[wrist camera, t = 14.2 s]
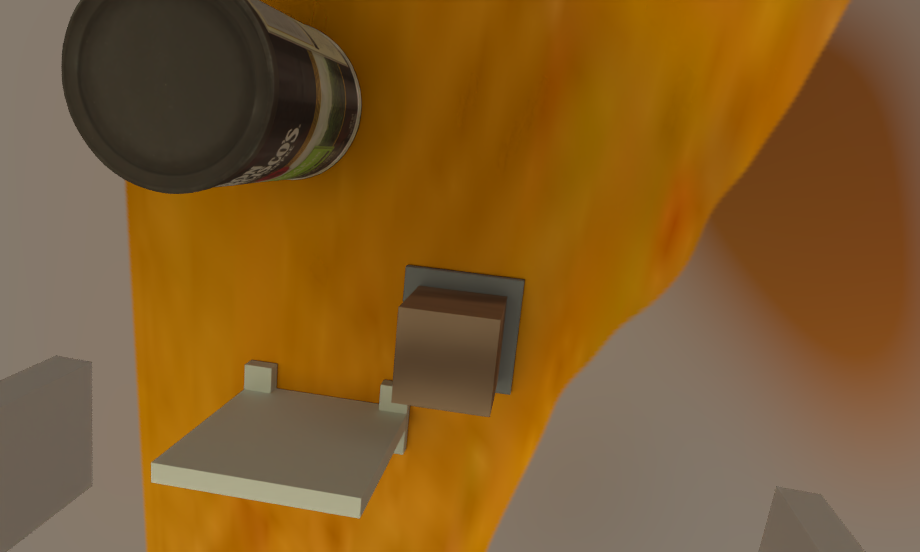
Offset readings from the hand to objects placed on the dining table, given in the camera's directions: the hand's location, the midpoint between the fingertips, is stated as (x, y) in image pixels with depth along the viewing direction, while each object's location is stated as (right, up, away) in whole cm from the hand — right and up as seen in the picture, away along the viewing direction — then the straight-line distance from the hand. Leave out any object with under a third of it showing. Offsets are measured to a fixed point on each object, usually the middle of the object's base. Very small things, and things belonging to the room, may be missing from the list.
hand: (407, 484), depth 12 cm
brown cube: (+1, 0, +31) cm, 31 cm away
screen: (-9, -5, +34) cm, 36 cm away
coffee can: (-10, +16, +30) cm, 36 cm away
